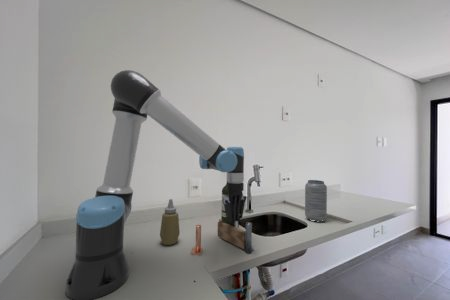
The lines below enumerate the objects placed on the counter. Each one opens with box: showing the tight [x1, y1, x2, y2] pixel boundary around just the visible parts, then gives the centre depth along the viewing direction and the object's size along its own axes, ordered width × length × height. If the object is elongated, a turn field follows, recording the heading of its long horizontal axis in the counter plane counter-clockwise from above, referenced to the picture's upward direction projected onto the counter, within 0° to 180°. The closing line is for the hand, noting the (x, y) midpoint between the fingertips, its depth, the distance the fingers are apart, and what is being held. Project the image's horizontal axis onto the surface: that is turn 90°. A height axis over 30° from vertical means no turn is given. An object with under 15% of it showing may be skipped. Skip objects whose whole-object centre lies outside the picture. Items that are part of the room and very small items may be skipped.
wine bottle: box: [220, 180, 231, 225], centre depth 102 cm, size 8×8×30 cm
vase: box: [304, 179, 328, 221], centre depth 115 cm, size 12×12×23 cm
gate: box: [217, 218, 246, 250], centre depth 82 cm, size 16×2×7 cm, turn 42°
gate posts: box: [190, 221, 255, 256], centre depth 76 cm, size 24×7×11 cm, turn 92°
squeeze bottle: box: [159, 199, 181, 246], centre depth 82 cm, size 8×8×18 cm
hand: (234, 235), depth 85 cm, fingers closed
